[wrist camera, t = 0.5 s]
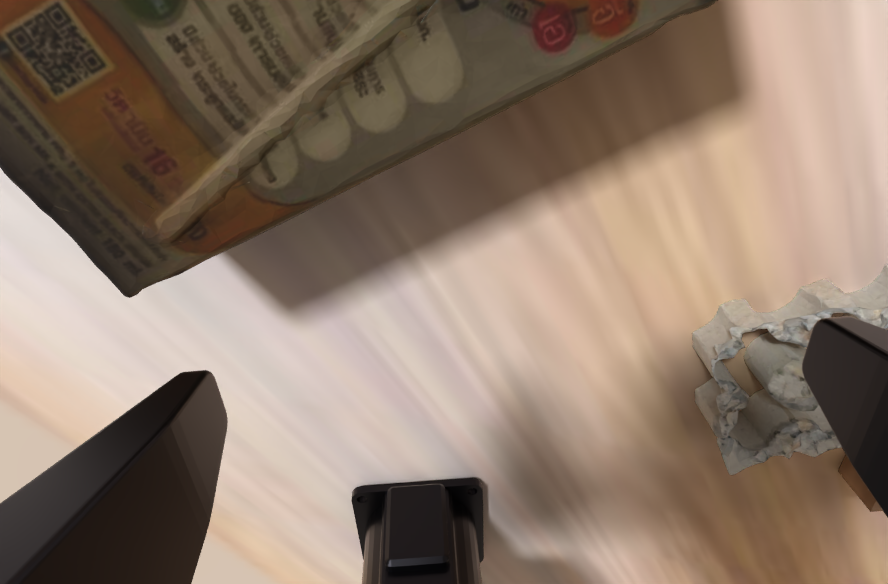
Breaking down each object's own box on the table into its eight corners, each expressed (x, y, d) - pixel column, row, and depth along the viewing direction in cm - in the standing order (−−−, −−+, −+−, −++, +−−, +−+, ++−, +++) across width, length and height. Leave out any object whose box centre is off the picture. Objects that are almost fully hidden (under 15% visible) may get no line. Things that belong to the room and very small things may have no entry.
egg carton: (948, 242, 24) (1042, 295, 20) (908, 380, 28) (980, 444, 24) (686, 295, 24) (734, 355, 21) (684, 422, 28) (723, 491, 25)
